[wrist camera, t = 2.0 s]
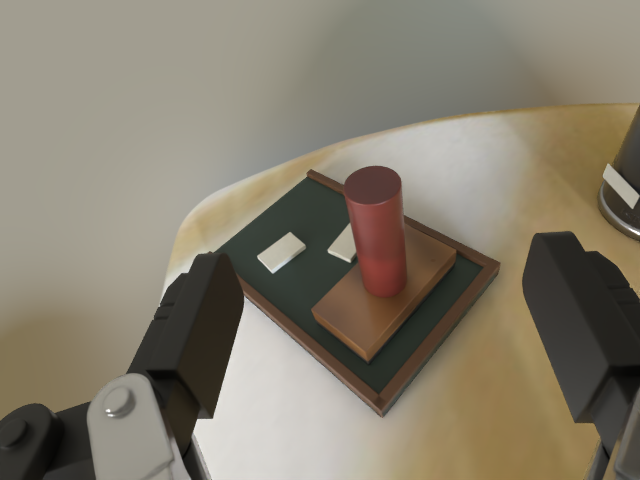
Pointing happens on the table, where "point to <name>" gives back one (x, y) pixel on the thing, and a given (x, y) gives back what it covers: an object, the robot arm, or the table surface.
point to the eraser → (381, 267)
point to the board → (327, 270)
